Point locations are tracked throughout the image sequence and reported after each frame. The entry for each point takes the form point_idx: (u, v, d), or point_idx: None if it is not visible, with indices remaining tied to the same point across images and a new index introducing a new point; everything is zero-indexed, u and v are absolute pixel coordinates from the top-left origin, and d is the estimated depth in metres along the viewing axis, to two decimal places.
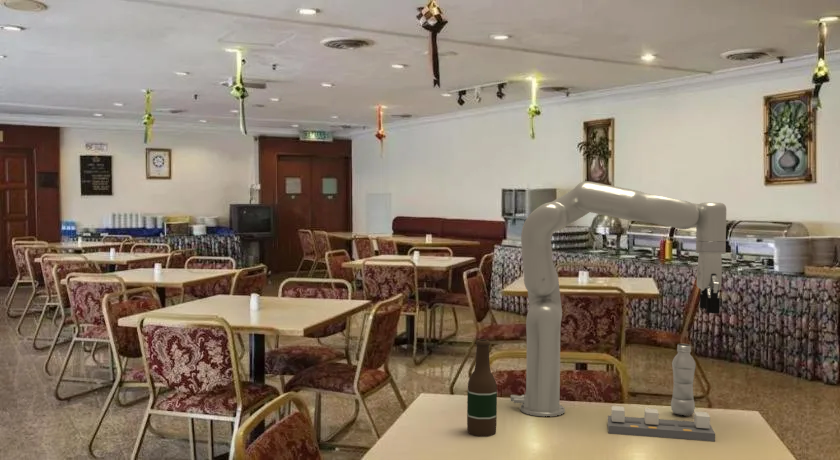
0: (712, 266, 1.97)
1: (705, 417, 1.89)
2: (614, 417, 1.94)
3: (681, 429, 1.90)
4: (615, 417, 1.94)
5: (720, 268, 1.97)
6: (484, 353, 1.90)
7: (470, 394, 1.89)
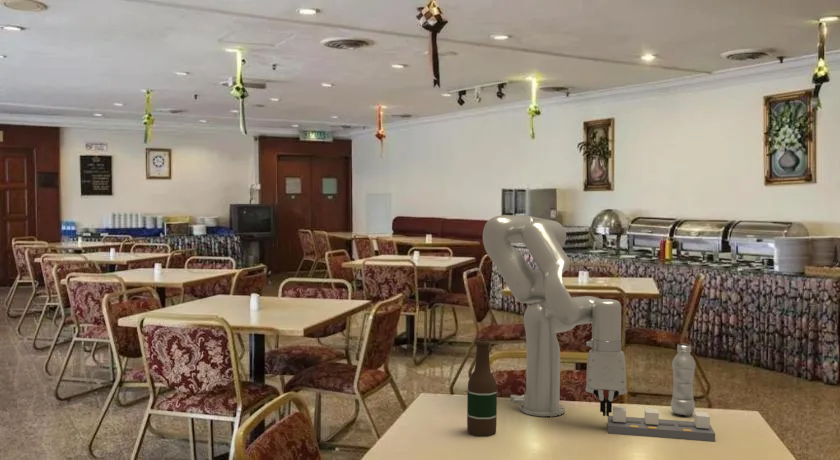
0: None
1: (705, 417, 1.89)
2: (615, 417, 1.94)
3: (681, 429, 1.90)
4: (617, 417, 1.94)
5: None
6: (484, 353, 1.90)
7: (470, 394, 1.89)
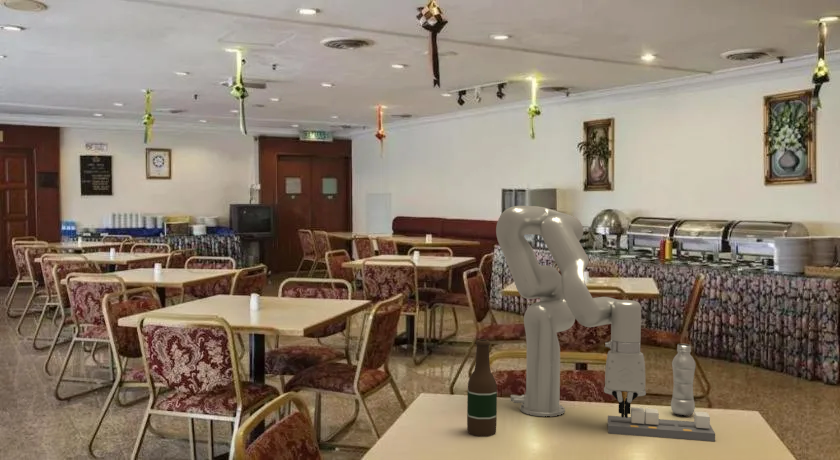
0: None
1: (705, 417, 1.89)
2: (634, 418, 1.93)
3: (681, 429, 1.90)
4: (635, 419, 1.93)
5: None
6: (484, 353, 1.90)
7: (470, 394, 1.89)
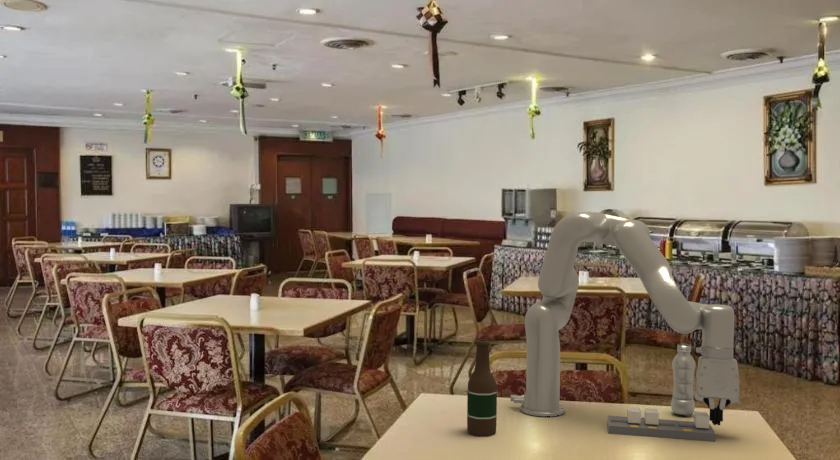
0: None
1: (705, 417, 1.89)
2: (630, 418, 1.94)
3: (681, 429, 1.90)
4: (631, 418, 1.93)
5: None
6: (484, 353, 1.89)
7: (470, 394, 1.89)
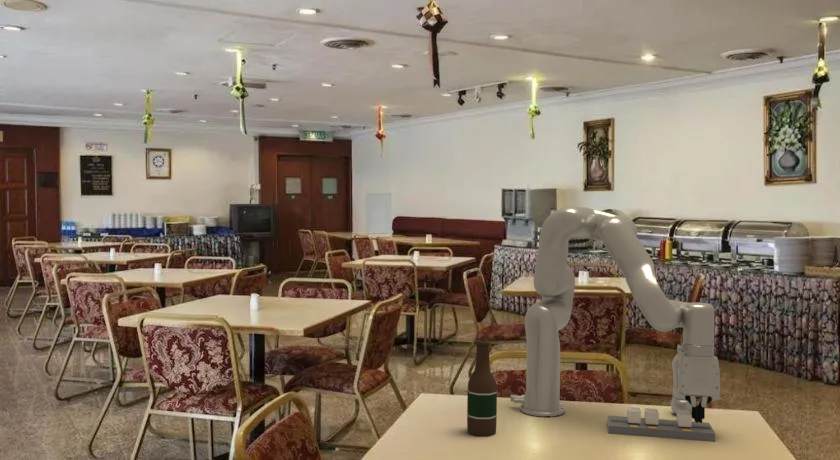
0: None
1: (687, 416, 1.90)
2: (630, 418, 1.94)
3: (681, 429, 1.90)
4: (631, 418, 1.93)
5: None
6: (484, 353, 1.89)
7: (470, 394, 1.89)
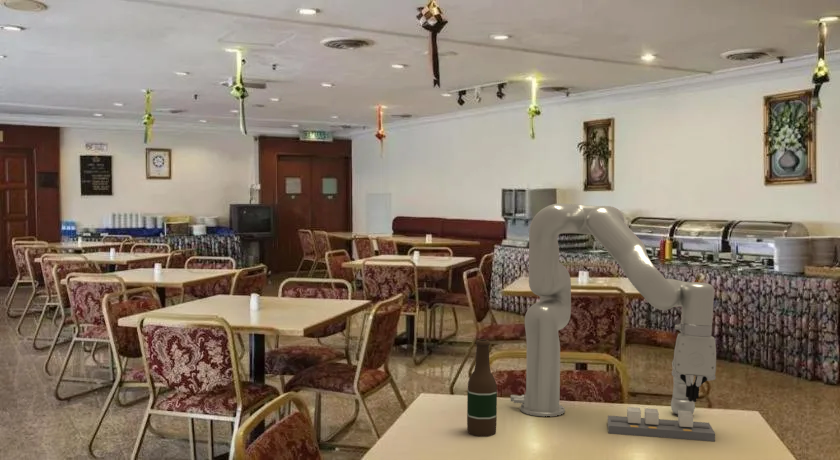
0: None
1: (688, 416, 1.90)
2: (630, 418, 1.94)
3: (681, 429, 1.90)
4: (631, 418, 1.93)
5: None
6: (484, 353, 1.90)
7: (470, 394, 1.89)
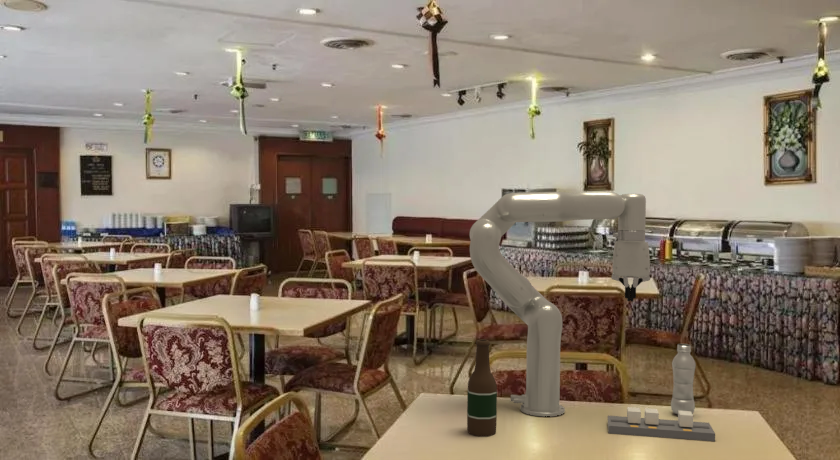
0: None
1: (688, 416, 1.90)
2: (630, 418, 1.94)
3: (681, 429, 1.90)
4: (631, 418, 1.93)
5: None
6: (484, 353, 1.90)
7: (470, 394, 1.89)
